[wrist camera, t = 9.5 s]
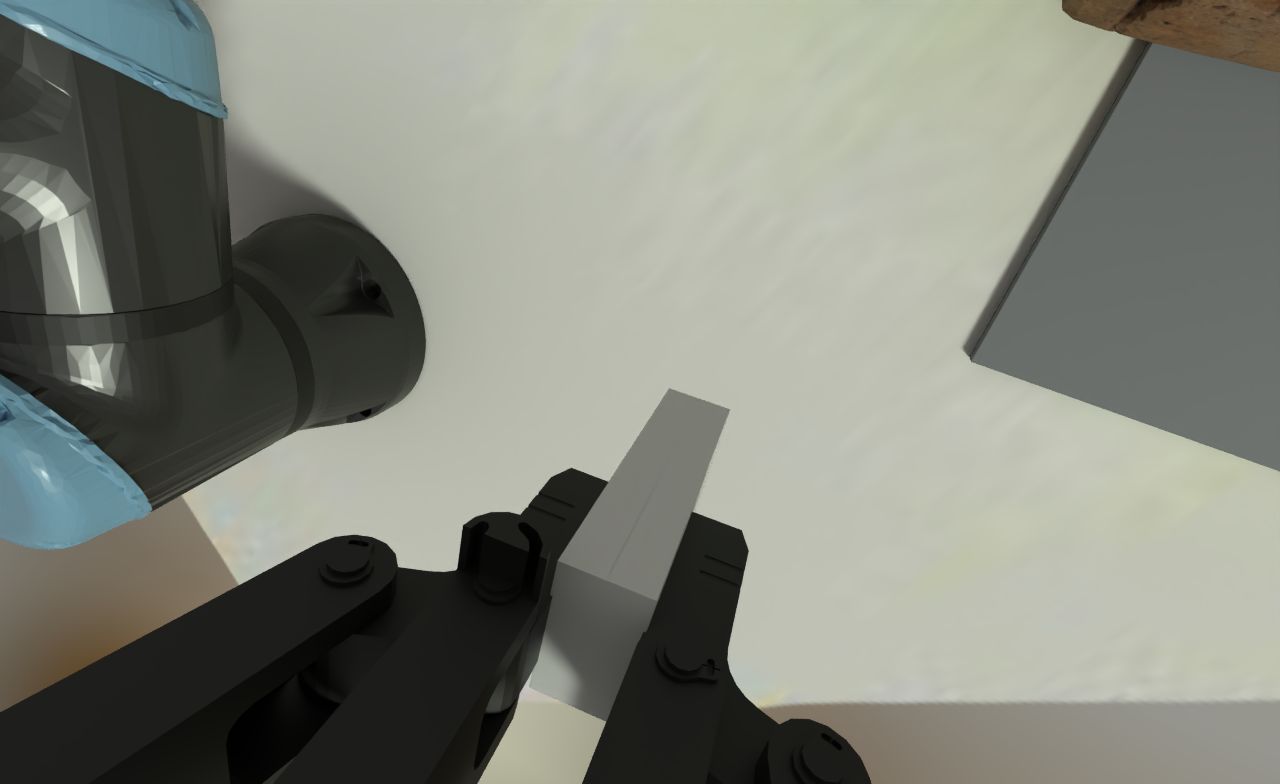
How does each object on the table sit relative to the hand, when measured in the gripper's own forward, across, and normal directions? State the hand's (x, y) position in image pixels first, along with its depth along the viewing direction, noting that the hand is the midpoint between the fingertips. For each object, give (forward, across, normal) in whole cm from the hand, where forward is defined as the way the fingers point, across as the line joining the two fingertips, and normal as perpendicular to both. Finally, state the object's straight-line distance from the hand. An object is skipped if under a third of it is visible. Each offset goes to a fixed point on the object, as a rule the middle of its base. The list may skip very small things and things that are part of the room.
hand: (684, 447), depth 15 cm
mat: (+23, +20, +6) cm, 31 cm away
